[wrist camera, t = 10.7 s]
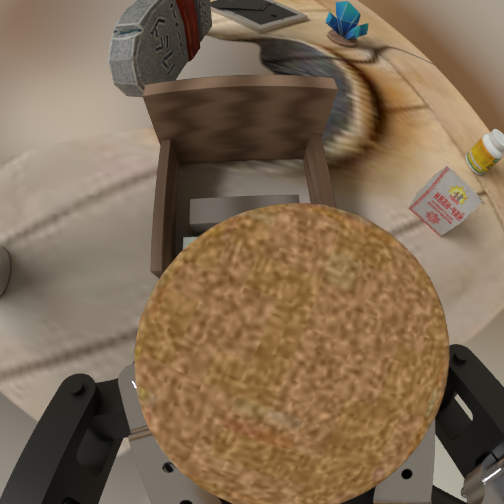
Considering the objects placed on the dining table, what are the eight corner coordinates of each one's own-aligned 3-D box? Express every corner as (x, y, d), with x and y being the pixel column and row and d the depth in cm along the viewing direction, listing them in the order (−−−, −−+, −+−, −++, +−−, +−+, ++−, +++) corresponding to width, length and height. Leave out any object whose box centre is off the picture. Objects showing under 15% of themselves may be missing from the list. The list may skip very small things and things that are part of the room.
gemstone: (349, 52, 51) (362, 10, 39) (319, 35, 53) (328, -6, 41) (365, 45, 53) (378, 7, 41) (337, 29, 54) (346, -9, 43)
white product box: (416, 193, 40) (450, 158, 30) (447, 220, 39) (484, 192, 29) (408, 208, 39) (443, 174, 30) (440, 236, 38) (479, 209, 28)
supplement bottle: (470, 149, 44) (495, 122, 35) (486, 169, 43) (513, 145, 34) (461, 158, 43) (487, 130, 34) (478, 180, 42) (507, 154, 33)
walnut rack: (161, 283, 35) (116, 246, 22) (169, 154, 41) (145, 84, 27) (332, 274, 36) (379, 233, 22) (311, 148, 41) (333, 78, 28)
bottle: (322, 344, 18) (512, 318, 4) (262, 412, 17) (312, 578, 2) (254, 285, 19) (279, 112, 5) (192, 352, 18) (32, 359, 3)
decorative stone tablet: (179, -40, 33) (86, 42, 26) (210, -41, 32) (123, 38, 26) (191, 26, 52) (128, 119, 45) (217, 28, 51) (159, 123, 45)
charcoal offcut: (197, 242, 37) (189, 224, 31) (197, 220, 38) (190, 199, 32) (293, 238, 37) (301, 219, 31) (290, 217, 38) (298, 194, 32)
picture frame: (207, 11, 57) (259, 36, 52) (206, 3, 54) (260, 26, 50) (252, -2, 60) (306, 22, 56) (253, -10, 58) (308, 13, 53)
